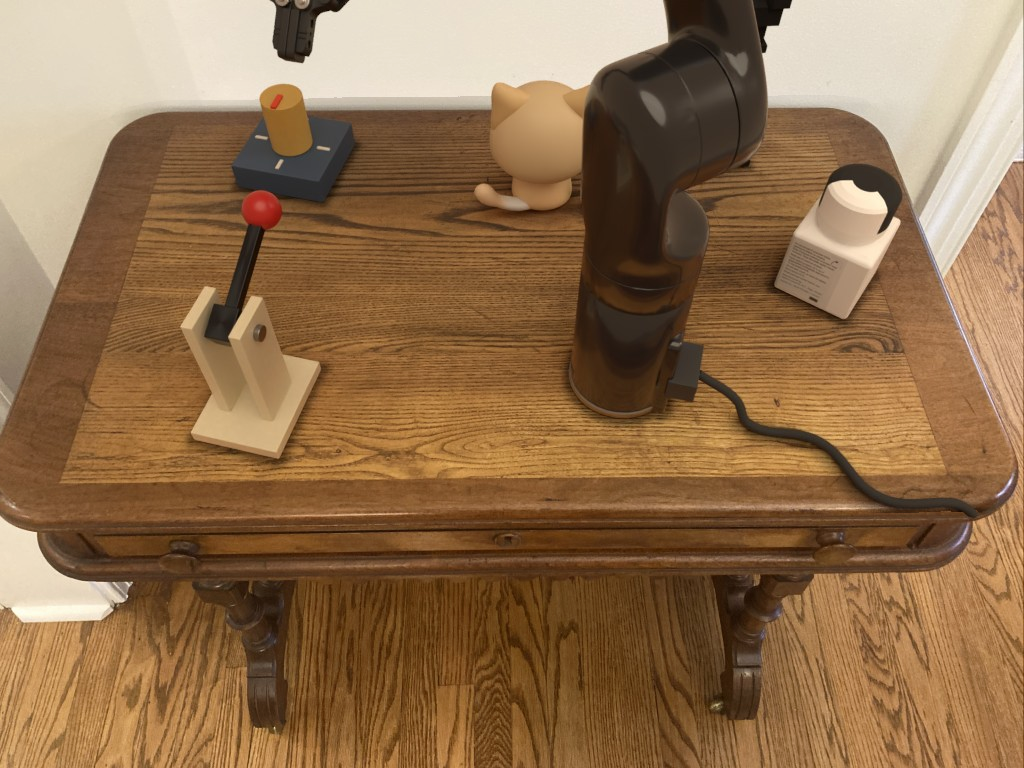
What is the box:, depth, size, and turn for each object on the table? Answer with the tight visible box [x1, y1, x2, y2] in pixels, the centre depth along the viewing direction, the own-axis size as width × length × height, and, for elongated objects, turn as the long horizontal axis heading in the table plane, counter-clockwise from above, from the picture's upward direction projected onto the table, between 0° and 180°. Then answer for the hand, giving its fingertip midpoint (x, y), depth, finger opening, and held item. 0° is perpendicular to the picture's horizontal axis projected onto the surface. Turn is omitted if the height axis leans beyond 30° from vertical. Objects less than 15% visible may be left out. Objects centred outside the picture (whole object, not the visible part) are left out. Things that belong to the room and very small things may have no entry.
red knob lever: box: [204, 190, 283, 347], centre depth 69 cm, size 13×3×3 cm, turn 166°
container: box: [774, 163, 903, 320], centre depth 81 cm, size 8×8×13 cm
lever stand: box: [179, 285, 322, 460], centre depth 72 cm, size 10×8×13 cm
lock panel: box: [230, 115, 356, 203], centre depth 95 cm, size 10×10×3 cm
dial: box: [259, 83, 313, 156], centre depth 91 cm, size 4×4×6 cm
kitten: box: [474, 79, 590, 212], centre depth 87 cm, size 15×10×15 cm, turn 89°
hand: (290, 60), depth 69 cm, fingers closed
